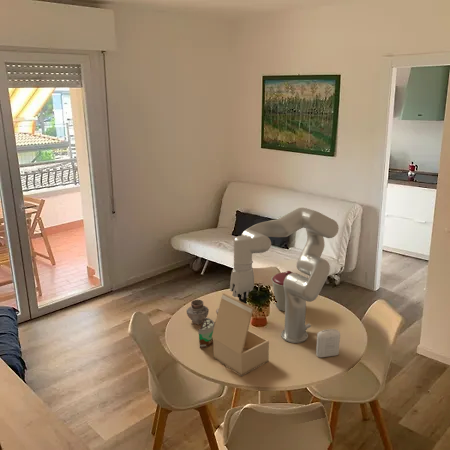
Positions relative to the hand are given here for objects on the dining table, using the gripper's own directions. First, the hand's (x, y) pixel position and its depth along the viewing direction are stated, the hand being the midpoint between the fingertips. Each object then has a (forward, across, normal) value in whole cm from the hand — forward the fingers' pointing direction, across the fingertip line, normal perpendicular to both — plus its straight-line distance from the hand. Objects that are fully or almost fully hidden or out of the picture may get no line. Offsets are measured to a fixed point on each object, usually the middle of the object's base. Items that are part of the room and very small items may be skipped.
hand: (242, 306), depth 197 cm
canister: (+25, -51, -19) cm, 60 cm away
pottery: (+26, -11, -35) cm, 45 cm away
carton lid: (+6, +6, 0) cm, 8 cm away
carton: (+25, +1, 0) cm, 25 cm away
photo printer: (+25, -30, +23) cm, 46 cm away
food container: (+26, +3, -20) cm, 33 cm away
